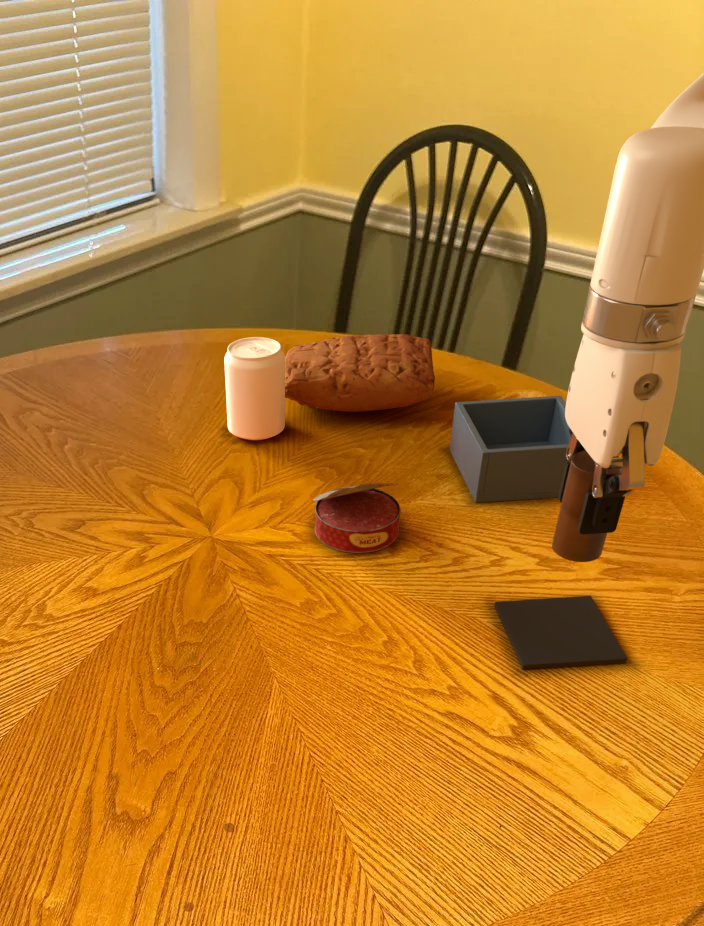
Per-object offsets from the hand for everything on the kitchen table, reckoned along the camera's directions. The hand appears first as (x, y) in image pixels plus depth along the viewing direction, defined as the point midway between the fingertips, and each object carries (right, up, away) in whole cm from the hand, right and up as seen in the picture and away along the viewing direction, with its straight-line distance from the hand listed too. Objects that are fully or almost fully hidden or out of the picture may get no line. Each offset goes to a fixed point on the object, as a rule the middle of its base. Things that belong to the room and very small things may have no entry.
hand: (586, 514), depth 80 cm
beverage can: (-28, +18, +46) cm, 57 cm away
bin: (+5, +10, +33) cm, 35 cm away
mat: (+1, -11, +9) cm, 14 cm away
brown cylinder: (0, -3, +2) cm, 4 cm away
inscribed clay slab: (-13, +24, +51) cm, 58 cm away
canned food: (-17, +2, +25) cm, 31 cm away
